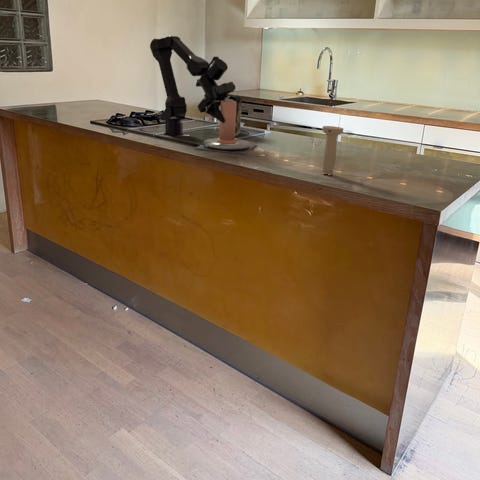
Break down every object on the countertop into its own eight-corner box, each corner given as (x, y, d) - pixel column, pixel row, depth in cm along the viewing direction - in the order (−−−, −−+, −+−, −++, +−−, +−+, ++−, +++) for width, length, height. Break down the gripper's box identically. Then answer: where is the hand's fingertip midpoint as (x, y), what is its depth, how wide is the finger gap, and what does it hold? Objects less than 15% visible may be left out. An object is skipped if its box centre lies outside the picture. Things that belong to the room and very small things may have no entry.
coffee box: (236, 136, 211) (238, 98, 205) (222, 135, 212) (223, 97, 206) (240, 133, 219) (242, 96, 213) (226, 131, 220) (228, 95, 214)
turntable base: (195, 149, 182) (195, 147, 181) (211, 140, 199) (211, 139, 198) (243, 154, 177) (243, 153, 177) (256, 145, 194) (256, 144, 194)
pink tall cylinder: (213, 142, 185) (215, 99, 179) (221, 139, 192) (223, 97, 185) (231, 145, 183) (233, 101, 176) (239, 141, 189) (242, 99, 183)
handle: (321, 171, 159) (326, 125, 153) (339, 175, 156) (345, 128, 150) (315, 174, 155) (320, 127, 149) (333, 177, 152) (339, 129, 146)
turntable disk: (197, 146, 182) (197, 144, 181) (212, 138, 198) (212, 136, 197) (242, 151, 177) (242, 149, 177) (255, 143, 193) (255, 140, 193)
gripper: (203, 74, 174) (224, 109, 171) (239, 73, 186) (258, 106, 184) (188, 94, 182) (208, 128, 179) (223, 92, 194) (242, 124, 192)
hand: (230, 121), depth 183 cm, fingers closed on pink tall cylinder, 6 cm apart
